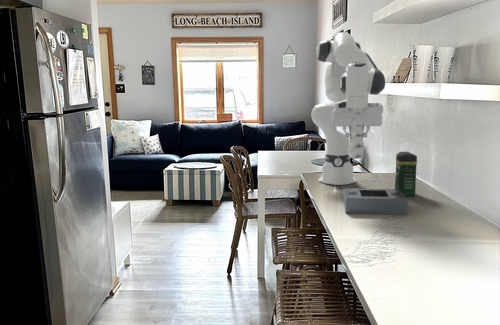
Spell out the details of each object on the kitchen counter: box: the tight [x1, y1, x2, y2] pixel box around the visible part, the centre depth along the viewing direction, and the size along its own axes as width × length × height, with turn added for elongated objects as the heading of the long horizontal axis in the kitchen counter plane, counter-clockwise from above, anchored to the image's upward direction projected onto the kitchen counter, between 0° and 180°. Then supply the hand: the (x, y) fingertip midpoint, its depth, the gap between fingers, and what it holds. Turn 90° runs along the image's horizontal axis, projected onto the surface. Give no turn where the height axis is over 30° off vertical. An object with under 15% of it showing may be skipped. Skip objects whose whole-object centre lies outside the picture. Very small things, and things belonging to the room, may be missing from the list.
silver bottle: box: [348, 112, 365, 160], centre depth 174 cm, size 6×7×20 cm
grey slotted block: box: [342, 187, 408, 216], centre depth 164 cm, size 15×22×6 cm
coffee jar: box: [394, 151, 418, 197], centre depth 183 cm, size 10×8×19 cm
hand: (356, 137), depth 174 cm, fingers closed on silver bottle, 6 cm apart
